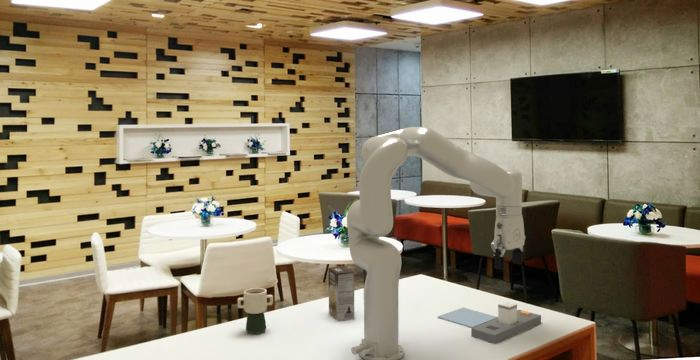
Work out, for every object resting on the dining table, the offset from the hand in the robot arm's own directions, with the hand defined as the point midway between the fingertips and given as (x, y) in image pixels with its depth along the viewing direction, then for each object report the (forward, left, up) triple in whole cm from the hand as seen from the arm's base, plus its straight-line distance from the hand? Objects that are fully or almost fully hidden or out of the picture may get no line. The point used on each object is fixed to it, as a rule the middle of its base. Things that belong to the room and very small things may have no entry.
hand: (508, 266), depth 170 cm
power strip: (0, 0, -20) cm, 20 cm away
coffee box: (-29, +45, -20) cm, 57 cm away
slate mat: (0, +15, -20) cm, 25 cm away
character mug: (-58, +52, -20) cm, 81 cm away
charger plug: (0, 0, -20) cm, 20 cm away
